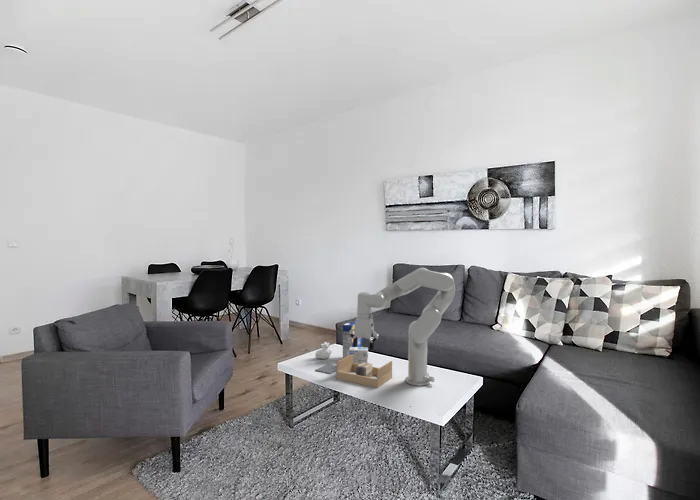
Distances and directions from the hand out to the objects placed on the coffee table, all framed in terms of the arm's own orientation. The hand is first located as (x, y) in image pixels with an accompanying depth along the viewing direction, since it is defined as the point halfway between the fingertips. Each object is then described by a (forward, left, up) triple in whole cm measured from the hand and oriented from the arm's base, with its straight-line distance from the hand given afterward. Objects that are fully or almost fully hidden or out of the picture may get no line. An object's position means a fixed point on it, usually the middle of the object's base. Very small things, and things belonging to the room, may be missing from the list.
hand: (363, 348), depth 210 cm
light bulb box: (+11, -15, -16) cm, 25 cm away
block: (-1, 0, -16) cm, 16 cm away
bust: (+37, -18, -16) cm, 45 cm away
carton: (-1, 0, -16) cm, 16 cm away
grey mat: (+23, -2, -16) cm, 28 cm away
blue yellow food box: (+21, -25, -16) cm, 37 cm away
